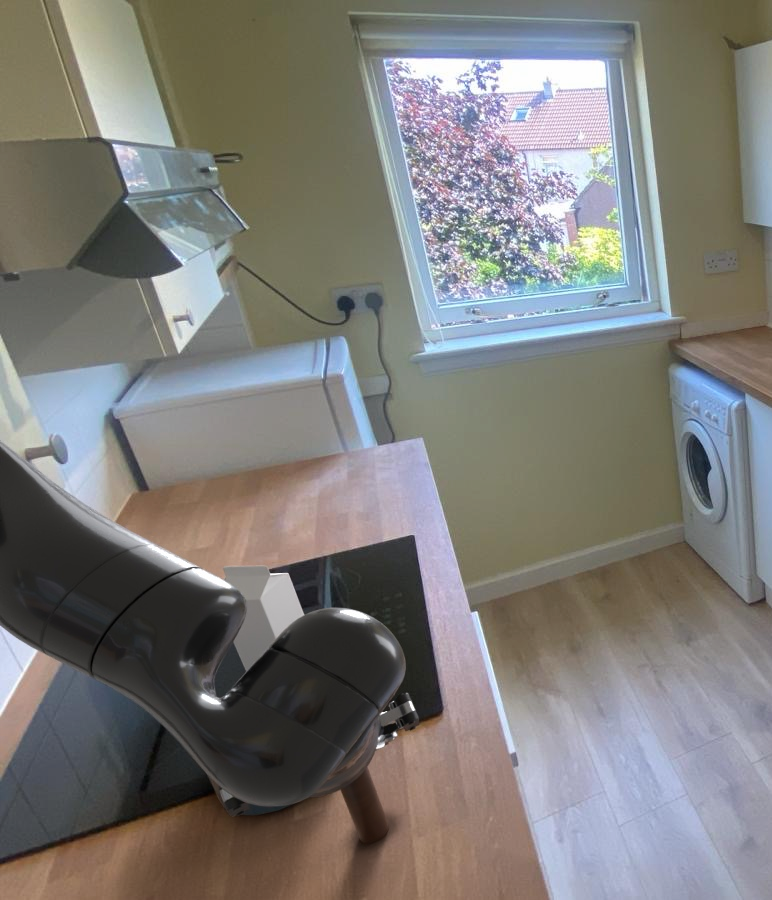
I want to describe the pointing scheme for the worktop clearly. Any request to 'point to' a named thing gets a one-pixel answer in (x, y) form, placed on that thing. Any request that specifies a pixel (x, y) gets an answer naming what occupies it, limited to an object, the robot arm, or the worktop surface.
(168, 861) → the worktop surface
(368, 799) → the brown tall cylinder
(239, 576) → the milk
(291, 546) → the worktop surface
